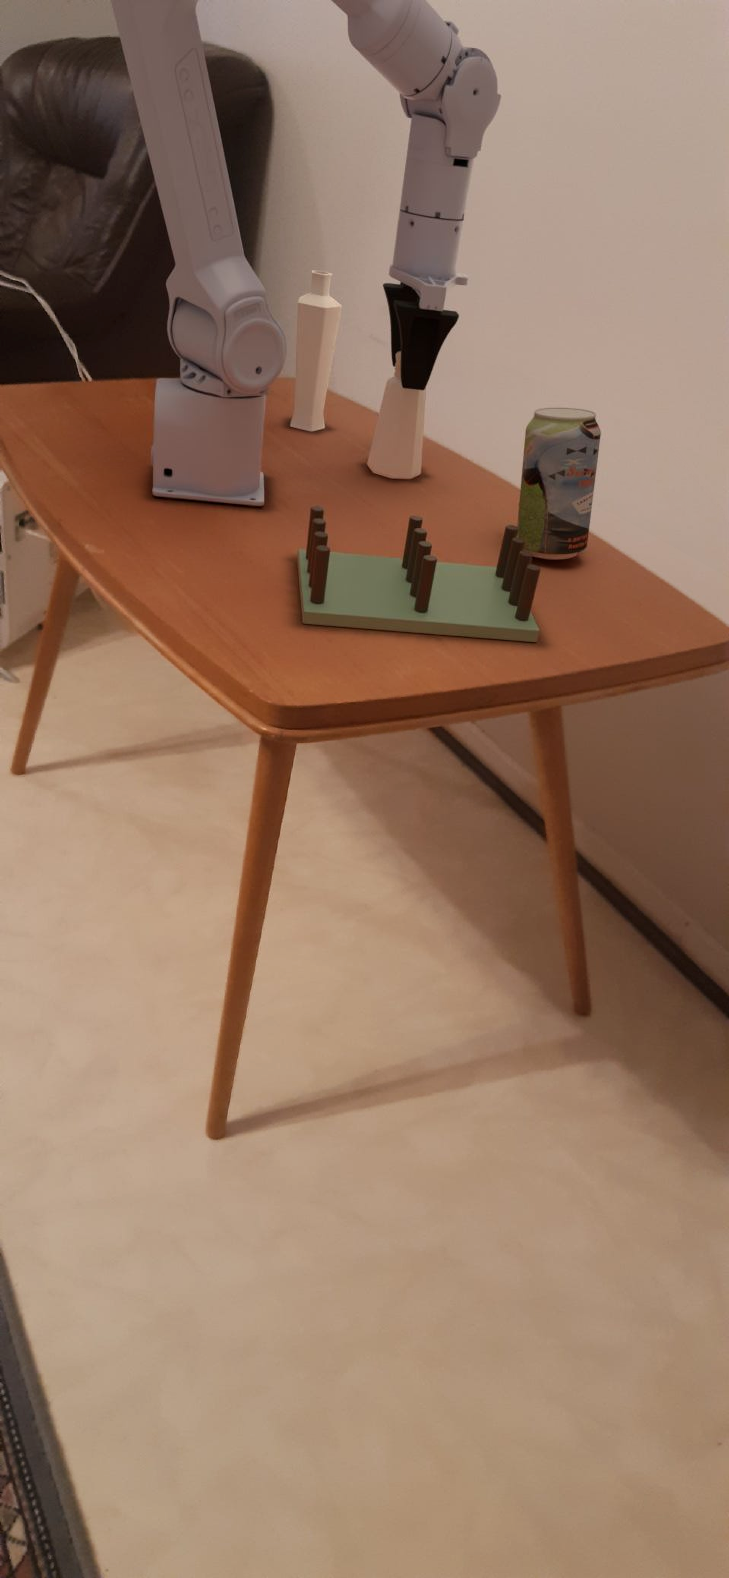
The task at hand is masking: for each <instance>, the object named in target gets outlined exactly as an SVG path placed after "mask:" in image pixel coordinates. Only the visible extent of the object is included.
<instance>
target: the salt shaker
mask: <svg viewBox="0 0 729 1578" xmlns="http://www.w3.org/2000/svg"><path fill="white" fill-rule="evenodd" d="M426 394H427V387H426V388H425V390H416V389H407V388H403V387H402V383H401V351H399V352H397V353H396V363H395V367H394V372H393V376H392V377H389V378H388V379H387V380H386V383H385V387H384V391H383V395H382V399H381V404H380V408H379V412H378V417H377V421H376V425H375V429H374V433H373V436H372V442H371V445H370V450H369V454H368V458H367V463H366V465H367V467H368V468H369V470H370V471H371V472H372V474H375V475H379V476H382V477H385V478H388V479H394V480H395V479H396V480H412V479H415V478H416V477H418V476H420V475H421V474H422V464H423V463H422V462H423V448H424V447H423V446H424V445H423V444H424V429H425V414H426V413H425V411H426V397H427V395H426Z"/></svg>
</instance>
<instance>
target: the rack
mask: <svg viewBox="0 0 729 1578" xmlns="http://www.w3.org/2000/svg"><path fill="white" fill-rule="evenodd" d="M309 513H310V514H309V521H308V522H309V523H308V532H307V539H306V540H307V541H306V549H304V548H303V549H301V548H298V550H297V557H296V562H297V563H296V565H297V573H298V574H297V575H298V584H299V598H300V609H301V620H302V624H304V625H313V626H314V625H316V626H327V627H338V628H339V627H340V628H352V629H365V630H375V631H376V630H377V631H389V632H401V633H402V632H403V633H415V634H426V635H427V634H428V635H439V636H440V635H441V636H451V637H465V638H476V639H477V638H478V639H488V640H489V639H491V640H501V641H502V640H504V641H514V642H526V643H527V642H529V643H537V642H538V640H539V636H540V628H539V626H538V624H537V622H536V620H535V618H534V616H533V614H532V612H531V611H532V607H533V602H534V599H535V595H536V590H537V586H538V582H539V578H540V574H541V566H538V565H536V564H532V561H533V557H534V556H533V554H532V553H531V552H529V551H524V546H525V540H524V539H522V538H517V533H518V527H517V526H516V525H513V524H506V526H505V527H504V533H503V536H502V542H501V544H500V545H501V546H500V551H499V555H498V559H497V564H496V566H492V565H491V566H489V565H479V564H470V563H469V564H468V563H455V562H447V561H446V562H445V561H438V558H437V557H436V556H435V555H432V549H433V544H432V543H431V542H430V541H427V537H428V530H426V529H425V528H422V527H423V517H422V516H419V515H410V516H409V519H408V526H407V532H406V537H405V544H404V549H403V556H402V558H401V557H391V556H381V555H370V554H359V553H349V552H348V553H347V552H337V551H331V548H330V547H329V546H328V540H329V534H328V533H327V532H326V527H327V521H326V520H325V519H324V515H325V508H324V507H322V506H318V505H313V506H311V507H310V512H309Z"/></svg>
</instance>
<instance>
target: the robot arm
mask: <svg viewBox="0 0 729 1578" xmlns="http://www.w3.org/2000/svg"><path fill="white" fill-rule="evenodd" d="M199 1H200V0H110V3H111V7H112V11H113V15H114V19H115V24H116V28H117V31H118V36H119V39H120V43H121V47H122V52H123V56H124V60H125V64H126V68H127V72H128V77H129V81H130V84H131V89H132V92H133V97H134V101H135V105H136V108H137V113H138V117H139V121H140V126H141V129H142V134H143V137H144V142H145V145H146V149H147V153H148V157H149V162H150V165H151V169H152V174H153V178H154V182H155V186H156V189H157V195H158V199H159V202H160V207H161V210H162V214H163V219H164V222H165V227H166V230H167V231H166V232H167V235H168V239H169V242H170V243H169V244H170V247H171V251H172V255H173V259H174V264H175V265H174V268H173V270H172V271H171V272H170V274H169V276H168V278H167V279H166V282H165V287H166V291H167V294H168V301H169V310H168V317H167V321H166V322H167V323H166V325H167V326H166V330H167V338H168V341H169V344H170V346H171V348H172V349H173V352H174V353H175V354H176V355H177V357H178V358H179V372H180V373H179V374H180V375H179V377H177V378H175V377H174V378H170V377H169V378H168V377H159V378H157V379H156V383H155V390H154V391H155V392H154V406H153V407H154V409H153V444H152V445H151V447H150V466H151V467H152V468H153V469H152V490H151V491H152V493H151V494H152V495H153V496H155V497H158V498H159V497H161V498H171V499H181V500H193V501H201V502H213V503H224V504H232V505H233V504H234V505H243V506H254V507H262V506H264V505H265V477H264V471H261V469H262V455H263V442H264V430H265V418H266V417H265V416H266V405H267V404H266V401H267V396H268V395H269V393H270V387H271V386H272V385H273V384H274V382H276V380H277V379H278V377H280V375H281V373H282V371H283V369H284V366H285V362H286V359H287V352H288V351H287V350H288V349H287V339H286V334H285V332H284V329H283V327H282V325H281V324H280V323H279V322H278V320H277V319H276V317H275V316H274V314H273V312H272V310H271V307H270V304H269V300H268V295H267V291H266V289H265V287H264V285H263V284H262V282H261V280H260V279H259V277H258V275H257V274H256V272H255V270H253V267H252V266H251V265H250V263H249V261H248V260H247V258H246V255H245V253H244V247H243V242H242V237H241V233H240V226H239V223H238V222H239V221H238V217H237V212H236V206H235V202H234V201H235V200H234V197H233V192H232V187H231V182H230V181H231V180H230V177H229V176H230V175H229V172H228V166H227V162H226V156H225V152H224V146H223V142H222V141H223V140H222V137H221V132H220V126H219V122H218V121H219V120H218V117H217V111H216V107H215V102H214V96H213V92H212V87H211V82H210V77H209V71H208V67H207V61H206V56H205V52H204V51H205V50H204V47H203V40H202V37H201V31H200V26H199V21H198V16H197V5H198V2H199ZM331 2H332V3H333V4H334V5H336V7H338V8H339V9H340V10H341V11H342V12H343V13H344V14H345V15H346V16H347V34H348V36H347V37H348V39H349V42H350V45H351V46H352V47H353V48H354V49H355V50H356V51H357V52H359V54H360V55H361V56H362V57H363V58H364V59H365V60H366V61H367V62H368V63H369V64H370V65H371V66H372V67H373V68H374V69H375V70H376V71H377V72H378V73H379V74H380V75H381V76H382V77H383V78H384V79H385V80H386V81H387V82H388V83H389V84H390V85H391V86H392V87H393V88H394V89H395V90H396V91H398V93H399V99H400V100H399V101H400V104H401V107H402V108H401V109H402V110H403V113H404V115H405V116H406V118H408V119H410V127H409V135H408V143H407V150H406V157H405V166H404V173H403V179H402V180H403V181H402V188H401V195H400V204H399V211H398V217H397V226H396V233H395V234H396V235H395V240H394V241H395V242H394V247H393V248H394V249H393V256H392V263H391V264H390V265H389V270H388V275H389V277H391V278H392V279H394V280H396V281H398V282H400V283H393V282H392V283H391V282H385V283H383V284H382V287H383V291H384V295H385V298H386V302H387V307H388V313H389V323H390V353H391V354H390V355H391V364H392V367H393V368H395V363H396V353H397V352H399V351H401V383H402V387H403V388H407V389H416V390H425V388H426V389H427V386H428V383H429V381H430V378H431V376H432V373H433V370H434V367H435V364H436V361H437V358H438V355H439V354H440V351H441V349H442V347H443V344H444V343H445V341H446V339H447V337H448V335H449V334H450V333H451V331H452V329H453V328H454V327H455V325H456V324H457V323H458V320H459V317H460V314H459V313H458V312H457V310H448V309H444V308H445V301H446V297H447V296H446V295H447V292H448V291H450V290H451V289H453V288H454V287H455V286H467V285H468V282H469V277H468V275H467V274H465V273H461V272H457V266H458V261H459V256H460V249H461V243H462V236H463V230H464V225H465V219H466V212H467V207H468V201H469V194H470V189H471V182H472V177H473V171H474V165H475V159H476V158H477V156H478V153H479V152H481V149H482V146H483V145H482V143H483V138H484V134H485V132H486V130H487V128H488V127H489V125H490V124H491V123H492V122H493V120H494V118H495V117H496V114H497V112H498V110H499V106H500V104H501V99H502V94H500V93H498V85H499V84H498V77H497V72H496V70H495V68H494V65H493V63H492V61H491V59H490V57H489V56H488V55H487V53H485V52H484V51H483V50H481V49H479V48H476V47H471V46H464V45H463V43H462V40H461V38H460V37H459V36H458V35H459V33H460V32H459V31H460V29H459V28H458V27H457V26H456V24H455V23H454V22H453V21H451V20H444V18H443V17H441V15H439V13H438V12H437V10H435V8H433V6H432V5H431V4H430V2H429V1H427V0H331Z"/></svg>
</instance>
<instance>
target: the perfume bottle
mask: <svg viewBox="0 0 729 1578" xmlns="http://www.w3.org/2000/svg"><path fill="white" fill-rule="evenodd" d="M311 275H312V276H311V277H312V278H311V286H310V292H307V293H305V294H303V295H301V296H300V297H299V298H298V300H297V316H296V317H297V321H296V348H295V349H296V350H295V351H296V353H295V379H294V380H295V381H294V382H295V383H294V384H295V385H294V408H293V409H294V410H293V413H292V416H291V419H290V424H289V427H291V428H295V429H298V430H303V431H307V432H316V431H320V430H325V429H326V425H325V417H324V409H325V404H326V398H327V393H328V387H329V380H330V375H331V370H332V364H333V360H334V359H333V358H334V353H335V348H336V342H337V336H338V330H339V325H340V321H341V314H342V310H343V309H342V308H343V305H342V304H341V303H339V302H338V301H337V300H336V299H335V298H333V296H331V295H330V288H331V280H332V276H333V273H331V272H328V271H326V270H316V269H311Z"/></svg>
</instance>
